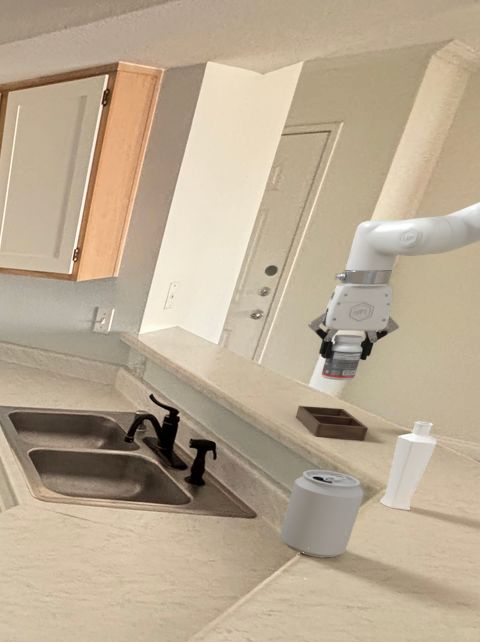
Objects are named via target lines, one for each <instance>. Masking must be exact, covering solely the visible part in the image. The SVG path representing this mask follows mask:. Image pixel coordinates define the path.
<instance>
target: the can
mask: <svg viewBox="0 0 480 642" xmlns="http://www.w3.org/2000/svg"><path fill="white" fill-rule="evenodd" d="M361 484H362V483H361V481H360V480H359V479H357V478H356V477H355V476H352V475H350V474H349V475H348V474H346V473H342V472H339V471H338V472H337V471H332V470H325V469H309V470H305V471H303V472H302V476H300V477H298V478H296V479H295V480H294V483H293V485H292V489H291V492H290V493H291V494H290V497H289V501H288V505H287V508H286V511H285V515H284V518H283V522H282V526H281V530H280V533H279V538H280V540H281V541H282V542H283V543H284V544H285V546H287V548H288V549H291V550H293V551H294V552H296V553H299V554H302V553H303V552H304V553H303V555H306V556H309V557H310V556H311V557H314V558H322V559H324V557H330V558H333V557H336V556H339V555H343V554H344V553H345V552H346V550H347V547H348V544H349V542H350V538H351V534H352V533H353V530H354V527H355V526H354V525H355V523H356V521H357V520H356V519H357V516H358V514H359V510H360V507H361V504H362V501H363V498H364V495H365V492H364V491H363V489H362V488H361V487H360V486H361ZM308 548H309V549H308Z"/></svg>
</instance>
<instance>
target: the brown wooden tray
mask: <svg viewBox="0 0 480 642" xmlns="http://www.w3.org/2000/svg"><path fill="white" fill-rule="evenodd" d="M295 418H296V419H297V420H298V421H299V422H300V423H301V424H302V425H303V426H304V427H305V428H306V429H307V430H308V431H309V432H310V433H311V434H312V435H313V436H314V437H319V438H330V439H341V440H352V441H353V440H354V441H365V438H366V435H367V432H368V430H369V427H367V426H366V425H365V424H364V423H362V421H360V420H358V419H357V418H356V417H355V416H353V415H352V414H351V413H349V412H348V411H347V410H345V409H344V408H337V407H322V406H321V407H320V406H310V405H309V406H308V405H298V407H297V410H296V414H295Z"/></svg>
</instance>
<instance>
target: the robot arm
mask: <svg viewBox="0 0 480 642" xmlns="http://www.w3.org/2000/svg"><path fill="white" fill-rule="evenodd" d="M478 242H480V201H478V202H476V203H474V204H471V205H469V206H467V207H464V208H462V209H459V210H457V211H454V212H452V213H449V214H446V215H438V216H428V217H427V216H426V217H415V218H410V219H372V220H365V221H361V222H360V224H358V225H357V227H356V230H355V233H354V237H353V240H352V243H351V247H350V252H349V254H348V258H347V261H346V265H345V269H344V270H343V271H342V272H340V273H335V275H334V280H335V281H336V280H338V281H340V282H341V283H339V284H337V285H336V287H335V288H334V289H333V292H332V294H331V296H330V298H329V300H328V303H327V305H326V308H325V310H324V313H322V314H321V315H319V316H318V317H317V318H315V319H313V320H312V321H310V322H309V323H308V324H307V326H308V327H309V328H310V329H311V331H313V332H314V333H315V335H317V336H318V337H319V338H320V339H321V340H322V341H321V344H320V347H319V352H318V354H319V355H320V357H321V358H323V359H325V360H326V359H328V358H329V356H330V353H331V349H332V346H333V344H334V341H332V340H333V339H334V338H335V335H337V333H338V331H355V332H356V331H358V332H363V333H364V337H365V338H364V340H362V342H361V343H360V346H361V347H362V349H363V350H362V354H361V357H360V360H361V361H367V357H370V356H371V353H372V350H373V346H374V345H375V344H376V343H377V342H378V341H379V340H380V339H382V338H384V337H385V336H387V335H389V334H391V333H393V332H395V331H397V330H398V329H399V328H400V325H399V324H398V323H397V322H396V321H395V320H394V319H393V318H392V316H390V315H391V311H392V305H393V299H394V298H393V297H394V284H389V283H390V281H391V276H392V273H393V270H394V266H395V263H396V260H397V256H403V257H418V256H427V255H439V254H444V253H449V252H452V251H455V250H459V249H461V248H463V247H466V246H467V247H468V246H469V245H472V244H475V243H478ZM321 324H322V326H323V327H326V329H325V330H323V328H322V327H320V325H321Z"/></svg>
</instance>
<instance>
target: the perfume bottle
mask: <svg viewBox="0 0 480 642" xmlns="http://www.w3.org/2000/svg"><path fill="white" fill-rule="evenodd" d="M413 423H414V426H413V429H412V431H411V433H406V434H401V435H397V439H396V444H395V448H394V454H393V457H392V462H391V466H390V470H389V476H388V480H387V484H386V490H385V493H384V495H383V497H381V499H380V500H379V503H380V504H382V505H384V506H386V507H387V508H390V509H395V510H397V509H398V510H405V511H406V510H407V511H410V510H411V500H412V498H413V496H414V494H415V491H416V489H417V487H418V486H419V483H420V481H421V478H422V476H423V475H424V472H425V470H426V467H427V465H428V463H429V461H430V459H431V457H432V454H433V453H434V451H435V449H436V446H437V444H438V440H437V438H435V437H433V436H431V435H429V434H430V431H431V428H432V426H434V423H432V422H428V421H423V420H422V421H421V420H420V421H413Z"/></svg>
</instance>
